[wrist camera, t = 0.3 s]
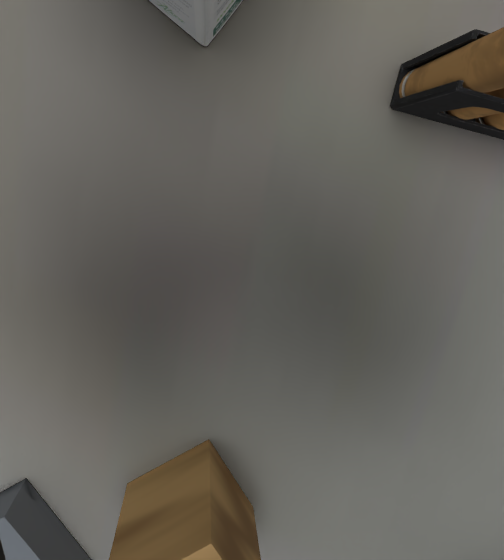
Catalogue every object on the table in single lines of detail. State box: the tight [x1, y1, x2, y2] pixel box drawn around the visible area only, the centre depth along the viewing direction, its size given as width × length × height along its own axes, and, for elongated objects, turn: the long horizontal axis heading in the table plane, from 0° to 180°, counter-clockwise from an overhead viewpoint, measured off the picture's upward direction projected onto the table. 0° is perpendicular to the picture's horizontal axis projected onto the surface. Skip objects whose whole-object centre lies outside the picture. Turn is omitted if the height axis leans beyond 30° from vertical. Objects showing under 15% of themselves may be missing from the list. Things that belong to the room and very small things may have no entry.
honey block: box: [109, 440, 261, 560], centre depth 20 cm, size 4×4×6 cm
